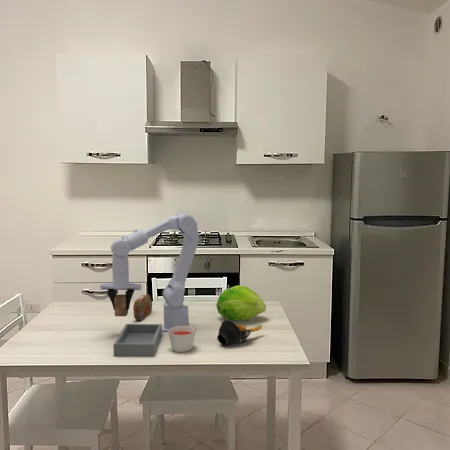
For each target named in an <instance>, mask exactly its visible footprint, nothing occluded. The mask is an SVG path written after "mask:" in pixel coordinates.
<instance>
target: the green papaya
mask: <svg viewBox="0 0 450 450" xmlns="http://www.w3.org/2000/svg"><path fill="white" fill-rule="evenodd" d="M215 307H216V309H217V312H218V314H219V315H221V317H223V318H225V320H229V321H240V322H241V321H248V320H250V319H252V318H254V317H256V316H258V315H259V314H262V313H265V312H266V310H267V304H266V303H265V302H264V300H263V299H262V298H261V297H260V295H258V294H257V292H255V291H254V290H253V289H251V288H249V286H246V285H235V286H232V287H229V288H226V289H224V290H223V291H222V292H221V294H219V296H218V299H217V302H216V304H215Z"/></svg>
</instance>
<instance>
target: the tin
mask: <svg viewBox="0 0 450 450" xmlns="http://www.w3.org/2000/svg"><path fill="white" fill-rule="evenodd" d="M132 308H133V317H134V319H135V320H136V321H144V320H145V319H146V318H147V317H148V316H149V315H151V313H152V310H153V299H152V297H151V295H150V294H143V295H141V296H140V297H138V298H137V299H135V301H134V302H133V307H132Z"/></svg>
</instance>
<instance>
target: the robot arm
mask: <svg viewBox="0 0 450 450" xmlns="http://www.w3.org/2000/svg"><path fill="white" fill-rule="evenodd" d="M168 230H175V231H179V232H180V233H181V235H182V237H183V238H184V241H183V244H182V248H181V250H180V253H179V256H178V259H177V261H176V264H175V268H174V271H173V274H172V277H171V279H170V280H169V281H168V283H167V286H166V287H165V288H164V289H163V290H162V297H163V299H164V303H163V325H162V332H169V329H171V328H173V327H177V326H189V325H190V319H189V306H188V305H185V304H184V301H185V291H186V287H185V284H186V280H187V277H188V274H189V272H190V268H191V265H192V263H193V261H194V260H193V259H194V257H195V255H196V250H197V248H198V245H199V241H200V235H199V229H198V222H197V221H196V220H195V218H194V217H193V215H192V214H187V213H185V212H182V211H181V212H178V213H176V214H172V215H169V216H168V217H166V218H165V219H163V220H160V221H159V222H157V223H155V224H153V225H152V226H150V227H148V228H146V229H145V230H144V229H141V228H139V229H137V228H135V229H134V230H133V232H131V233H129V234H127V235H126V236H124V235H122V236H121V237H120V238H121V239H120V238H117V239H115V240H113V241H112V243H111V245H110V251H111V252H112V255H111V256H112V260H111V261H112V262H111V263H112V264H111V265H112V266H111V267H112V282H111V283H101V284H100V287H99V288H100V291H106V293H107V294H106V295H107V296H108V298H109V300H110V302H111V304H112V308H113V309H112V310H113V311H115V304H114V297H115V296H116V295H117V292H118V291H125V294H124V295H126V310H128V311H129V309H130V307H131V305H130V304H131V300H132V299H133V298H132V297H133V295H134V293H135V291H138V292H139V291H142V283H132V282H130V277H129V273H130V271H129V270H130V269H129V266H130V265H129V253H130V252H131V251H132V252H133V251H135V250H137V249H138V248H140V247H141V246H142V247H143V246H144V245H146V244H147V243H148V241H149V239H150V238H152V237H155V236H157V235H159V234H161V233H163V232H165V231H168Z"/></svg>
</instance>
